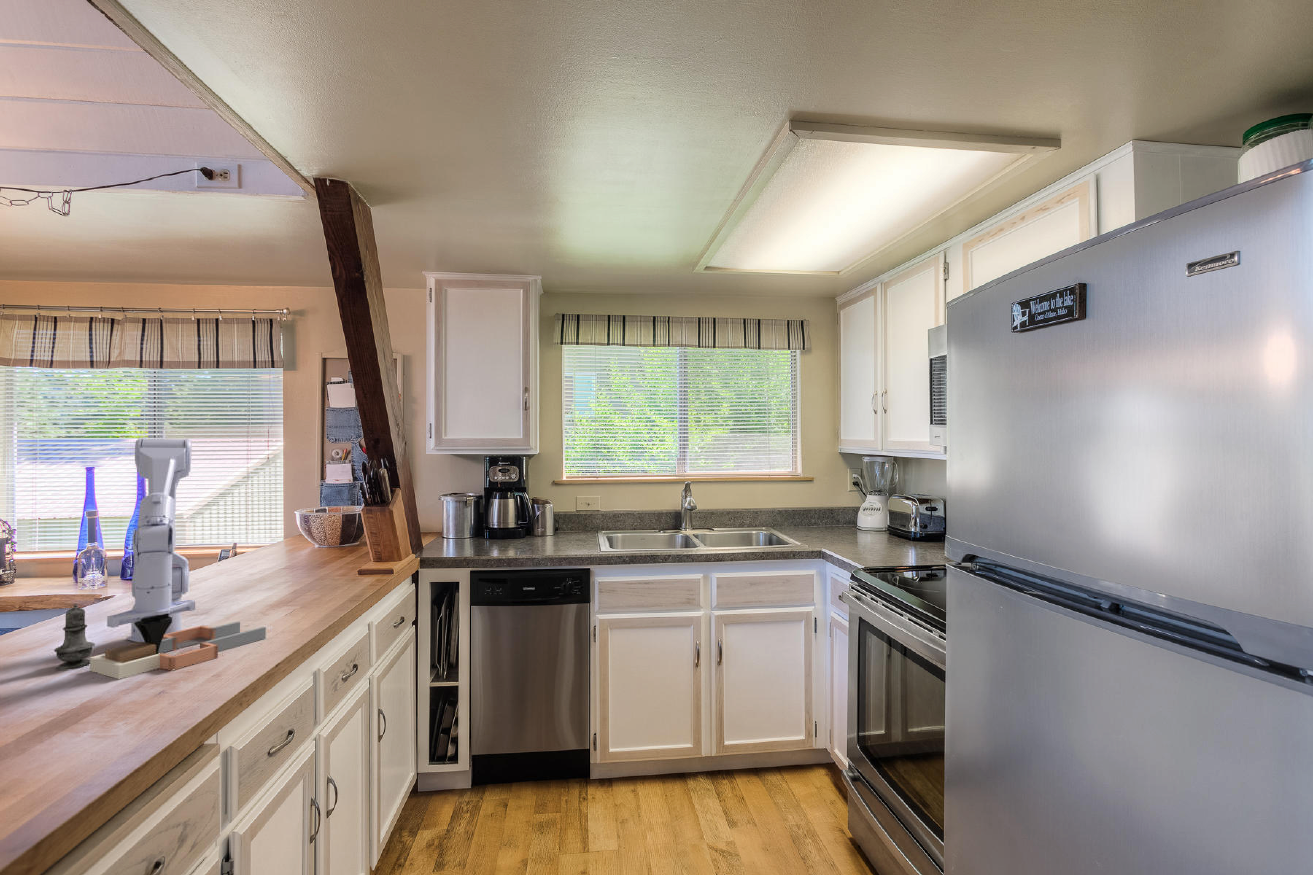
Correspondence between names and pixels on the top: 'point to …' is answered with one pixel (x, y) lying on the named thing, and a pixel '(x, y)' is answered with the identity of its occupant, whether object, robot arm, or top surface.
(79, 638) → the salt shaker
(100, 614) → the top surface
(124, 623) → the robot arm
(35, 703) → the top surface
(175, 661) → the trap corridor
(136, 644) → the walnut block
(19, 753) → the top surface
